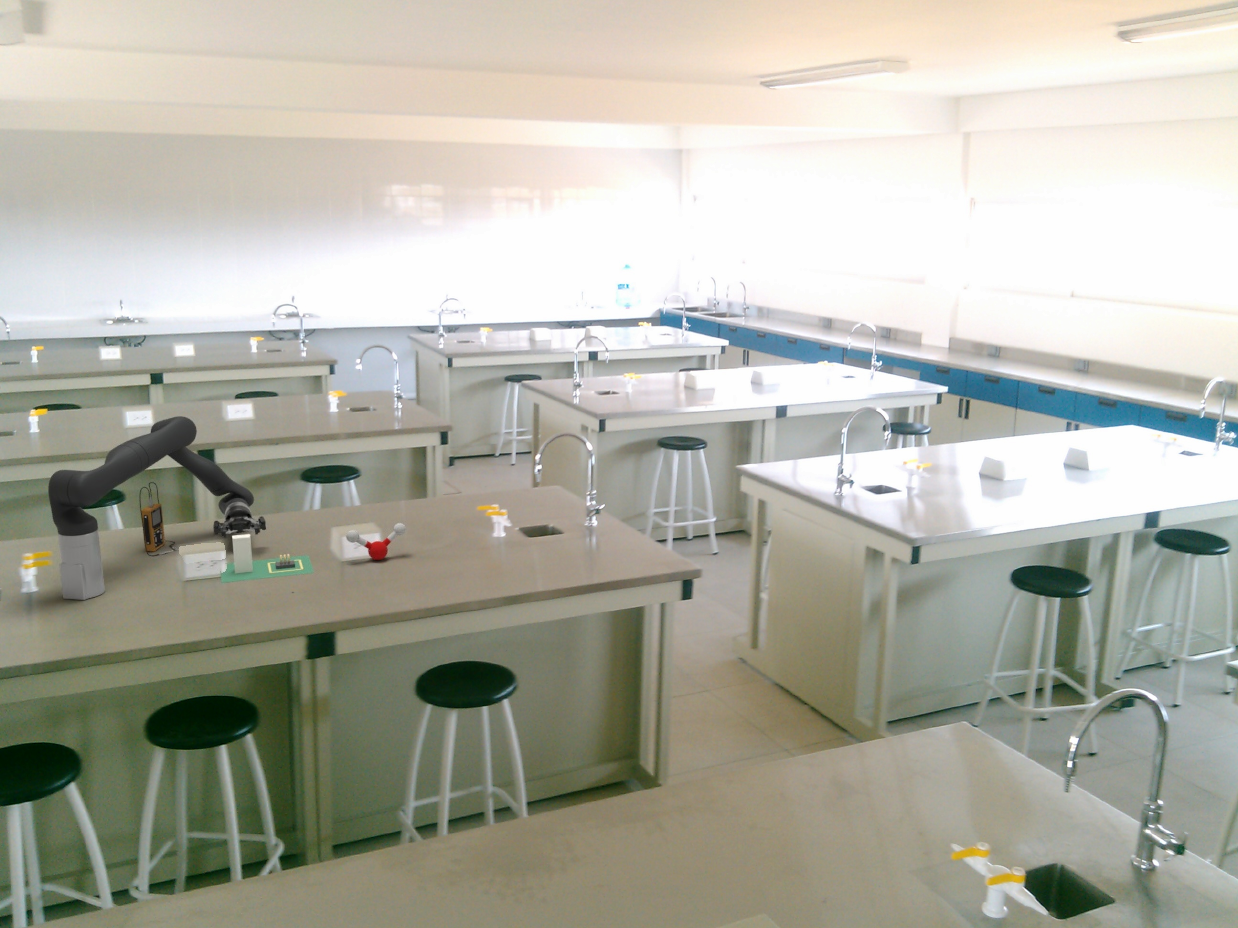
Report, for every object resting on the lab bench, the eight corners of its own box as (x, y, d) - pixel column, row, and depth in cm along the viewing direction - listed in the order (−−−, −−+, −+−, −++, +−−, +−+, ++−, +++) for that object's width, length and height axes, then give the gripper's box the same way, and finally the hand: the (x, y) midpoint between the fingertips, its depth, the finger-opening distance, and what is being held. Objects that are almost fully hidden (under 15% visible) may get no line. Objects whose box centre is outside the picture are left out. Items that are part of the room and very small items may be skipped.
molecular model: (404, 552, 299) (403, 520, 297) (410, 557, 295) (409, 525, 292) (345, 561, 291) (344, 528, 288) (350, 566, 286) (349, 533, 284)
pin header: (295, 567, 280) (294, 555, 280) (276, 569, 279) (275, 557, 278) (294, 563, 283) (293, 551, 283) (275, 565, 282) (274, 553, 281)
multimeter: (172, 557, 292) (166, 491, 287) (138, 556, 292) (132, 490, 287) (194, 541, 306) (189, 478, 301) (162, 540, 306) (156, 477, 301)
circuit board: (221, 588, 268) (221, 582, 267) (220, 569, 282) (219, 563, 282) (314, 577, 277) (314, 572, 276) (308, 559, 291) (308, 554, 291)
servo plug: (252, 571, 276) (250, 537, 274) (235, 573, 275) (232, 538, 272) (252, 568, 279) (249, 534, 277) (234, 569, 277) (232, 535, 275)
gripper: (211, 507, 296) (212, 522, 282) (262, 502, 302) (266, 517, 287) (214, 531, 298) (215, 548, 284) (264, 526, 303) (267, 542, 289)
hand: (240, 532), depth 285 cm, fingers open, 8 cm apart
